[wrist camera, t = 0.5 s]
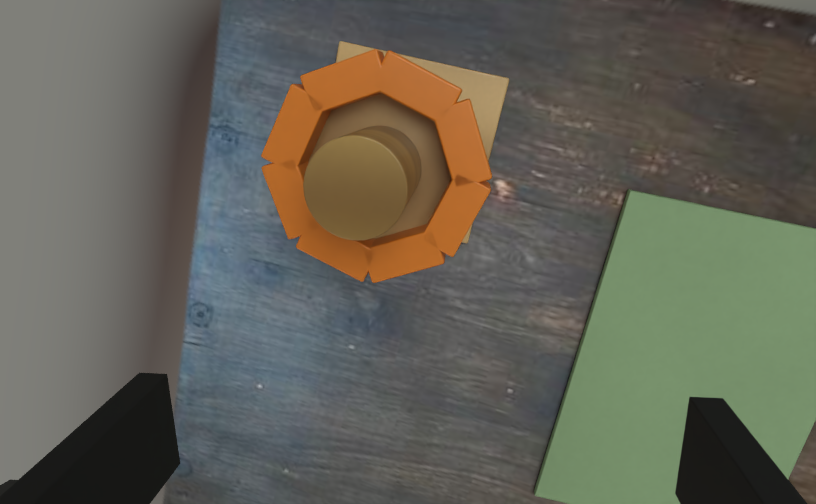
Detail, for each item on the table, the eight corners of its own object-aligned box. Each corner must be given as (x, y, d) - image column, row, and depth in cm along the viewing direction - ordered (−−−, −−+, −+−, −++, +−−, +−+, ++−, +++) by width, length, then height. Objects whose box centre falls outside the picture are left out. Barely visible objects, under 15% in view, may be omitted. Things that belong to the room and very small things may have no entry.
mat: (627, 189, 31) (630, 190, 30) (890, 243, 30) (896, 246, 30) (533, 490, 37) (534, 495, 36) (752, 542, 36) (756, 548, 35)
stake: (343, 42, 30) (228, -1, 16) (508, 78, 30) (543, 68, 16) (315, 203, 33) (196, 291, 19) (467, 239, 33) (465, 356, 18)
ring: (248, 98, 22) (233, 98, 20) (450, 26, 20) (448, 22, 19) (320, 289, 24) (310, 301, 22) (509, 236, 22) (512, 245, 21)
